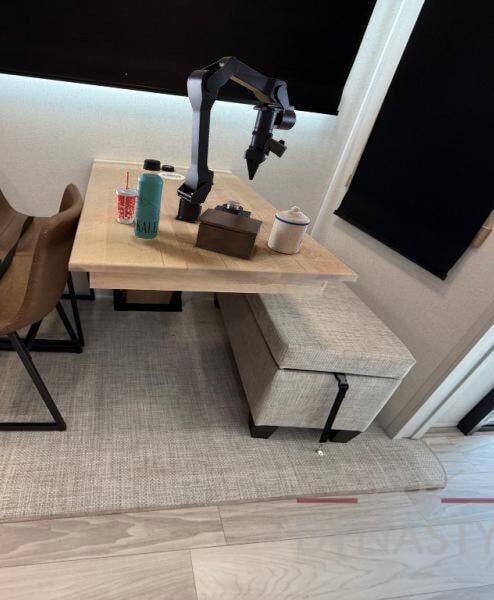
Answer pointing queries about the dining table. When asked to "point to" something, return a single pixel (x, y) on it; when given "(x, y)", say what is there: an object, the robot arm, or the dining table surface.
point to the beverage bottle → (148, 201)
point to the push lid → (233, 204)
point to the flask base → (233, 210)
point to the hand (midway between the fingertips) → (250, 180)
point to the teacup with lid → (288, 231)
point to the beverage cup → (126, 203)
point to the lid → (230, 221)
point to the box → (226, 241)
